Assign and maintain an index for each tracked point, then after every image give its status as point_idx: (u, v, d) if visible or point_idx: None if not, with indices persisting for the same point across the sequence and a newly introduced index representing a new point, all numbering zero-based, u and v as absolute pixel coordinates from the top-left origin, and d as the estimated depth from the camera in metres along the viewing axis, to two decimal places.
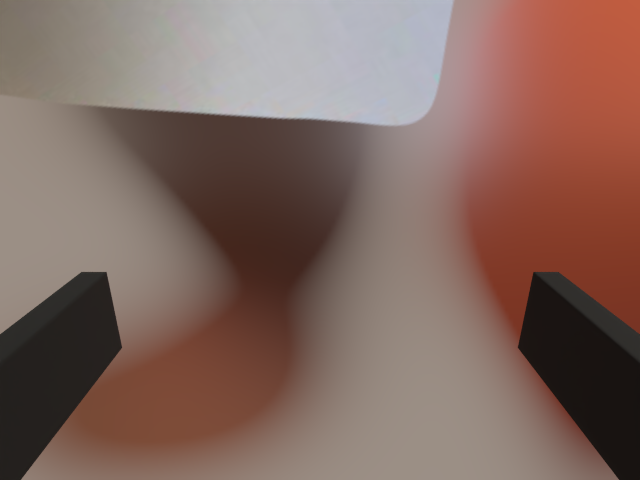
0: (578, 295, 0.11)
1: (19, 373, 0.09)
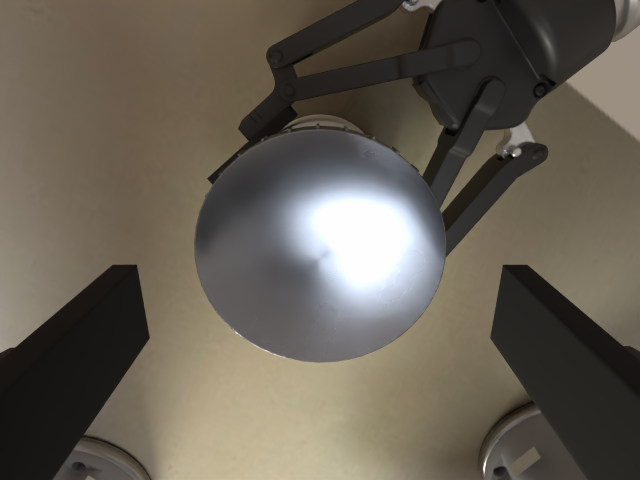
0: (541, 287, 0.11)
1: (66, 357, 0.09)
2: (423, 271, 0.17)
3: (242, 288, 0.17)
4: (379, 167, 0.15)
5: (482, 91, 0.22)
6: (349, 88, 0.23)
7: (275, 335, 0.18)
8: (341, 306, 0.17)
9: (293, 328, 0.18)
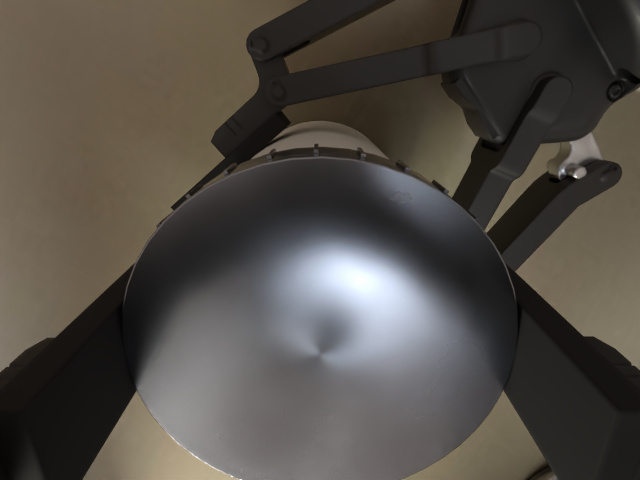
0: (513, 280, 0.12)
1: (103, 347, 0.09)
2: (480, 372, 0.11)
3: (200, 396, 0.11)
4: (416, 218, 0.09)
5: (540, 92, 0.16)
6: (359, 88, 0.17)
7: (252, 459, 0.12)
8: (352, 420, 0.11)
9: (279, 450, 0.12)
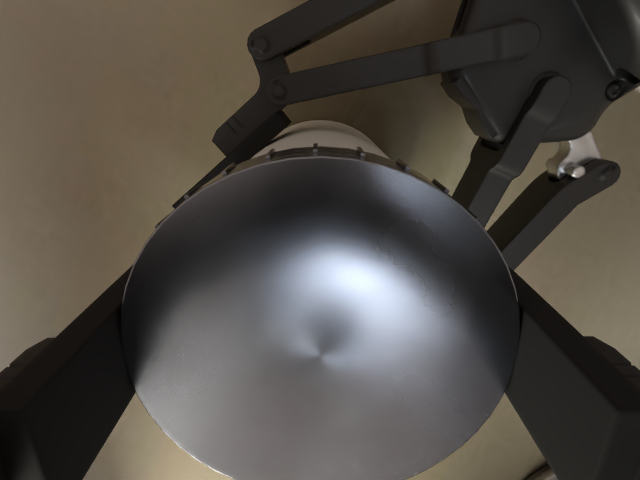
0: (513, 280, 0.12)
1: (103, 346, 0.09)
2: (434, 230, 0.09)
3: (304, 456, 0.12)
4: (225, 216, 0.09)
5: (539, 92, 0.17)
6: (359, 87, 0.17)
7: (396, 457, 0.12)
8: (410, 365, 0.11)
9: (401, 434, 0.11)
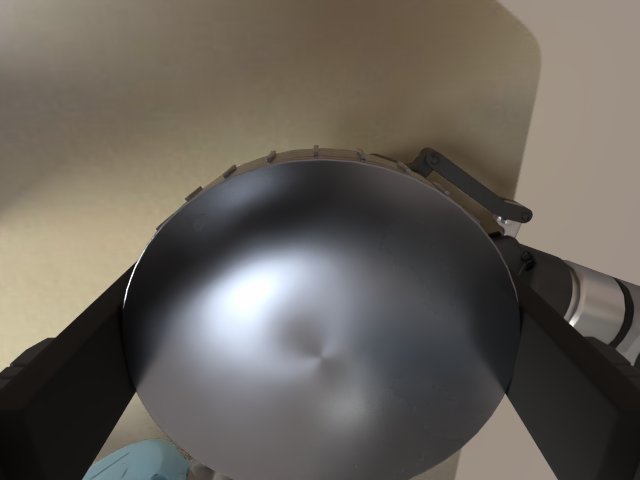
0: (513, 280, 0.12)
1: (103, 346, 0.09)
2: (434, 232, 0.09)
3: (305, 458, 0.12)
4: (226, 218, 0.09)
5: None
6: None
7: (397, 458, 0.12)
8: (411, 367, 0.11)
9: (402, 435, 0.11)
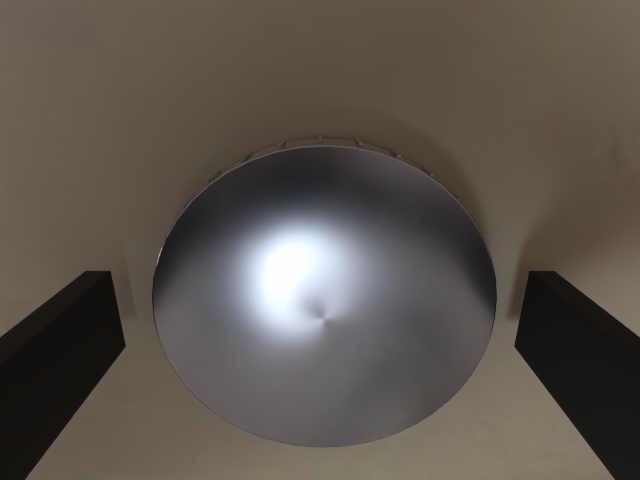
0: (573, 294, 0.11)
1: (25, 371, 0.09)
2: (421, 208, 0.11)
3: (310, 411, 0.13)
4: (244, 196, 0.11)
5: None
6: None
7: (390, 411, 0.13)
8: (402, 327, 0.12)
9: (395, 390, 0.13)
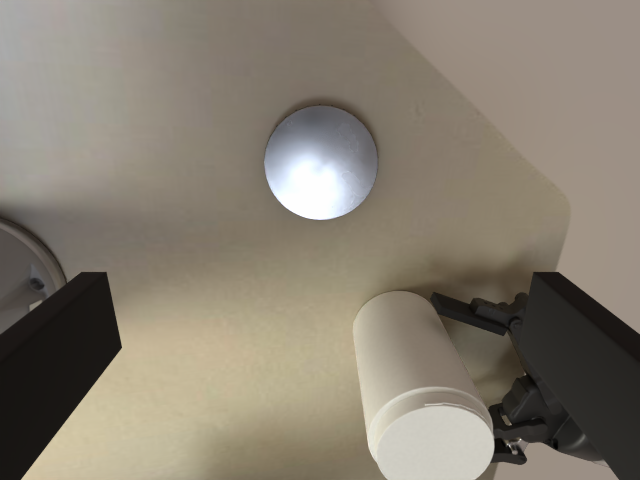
0: (578, 296, 0.11)
1: (19, 373, 0.09)
2: (351, 126, 0.35)
3: (316, 203, 0.37)
4: (296, 122, 0.35)
5: (538, 423, 0.39)
6: None
7: (344, 203, 0.38)
8: (347, 169, 0.36)
9: (345, 194, 0.37)
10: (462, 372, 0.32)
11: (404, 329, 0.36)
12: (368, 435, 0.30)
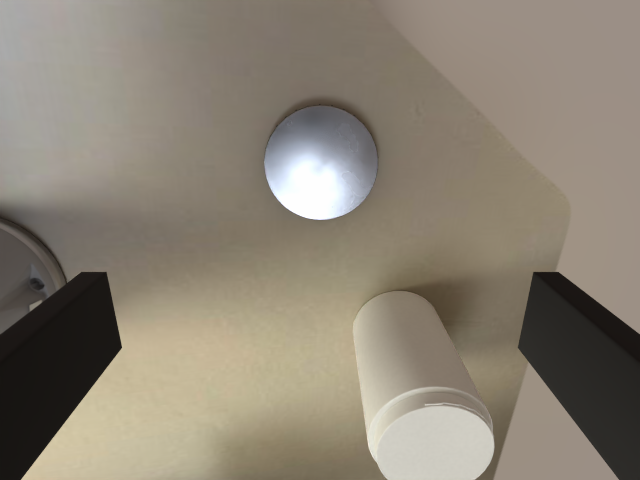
0: (578, 296, 0.11)
1: (19, 373, 0.09)
2: (351, 126, 0.35)
3: (316, 203, 0.37)
4: (296, 122, 0.35)
5: None
6: None
7: (344, 203, 0.38)
8: (347, 169, 0.36)
9: (345, 194, 0.37)
10: (462, 372, 0.32)
11: (404, 329, 0.36)
12: (368, 435, 0.30)
